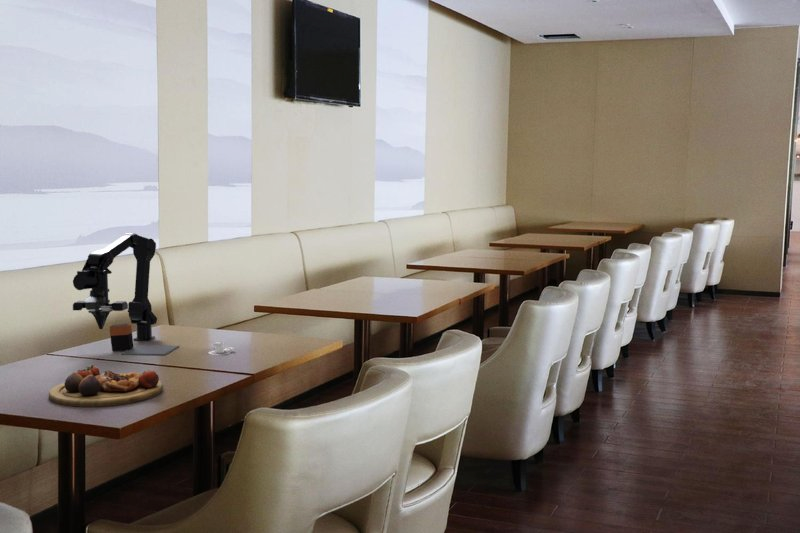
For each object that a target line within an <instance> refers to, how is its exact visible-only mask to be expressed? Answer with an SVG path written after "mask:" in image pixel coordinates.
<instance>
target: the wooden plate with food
mask: <svg viewBox="0 0 800 533" xmlns="http://www.w3.org/2000/svg"><path fill="white" fill-rule="evenodd" d="M163 386H164V385H163V383H162V382H161V381H160V378H159V375H158V374H157V372H156V371H155V370H149V369H148V370H147V371H143V372H142V373H139V372H136V371H133V372H127V373H118V372H113V371H112V370H110V369H109V370H105V371H104V372H103V373H101V372H100V369H99V368H98V367H97V366H95V365H93V364H92V365H91V366H86V369H85V368H84V369H78V370H77V372H75V371H74V372H72V373H71V374H69V375H68V376H67V377H66V379H65V381H64V382H62V383H60V384H57V385H56V386H53V388H51V389H50V390H49V392H48V398H49V399H50V401H51V402H54V403H56V404H58V405H63V406H67V407H68V406H69V407H80V408H82V407H83V408H86V407H87V408H97V407H98V408H99V407H101V408H102V407H111V406H113V407H114V406H119V405H120V406H121V405H127V404H133V403H138V402H142V401H146V400H148V399H151V398H154V397H156V396H157V395H159V394H160V393H161V392H162V391H163V388H164V387H163Z"/></svg>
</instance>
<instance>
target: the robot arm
mask: <svg viewBox="0 0 800 533" xmlns="http://www.w3.org/2000/svg"><path fill="white" fill-rule="evenodd" d="M156 247H157V244H156V241H155V240H154V239H153V238H149V237H145V236H141V235H139V234H137V233H136V232H135V233H134V232H133V233H132V232H127V233H123V235H122V236H121V237H120V238H117V239H116V240H115V241H114V242H112V243H111V244H109V245H107V246H106V247H105V248H101V249H98V250H95V251H93V252H90V253H89V254H88V256H87V259H86V261H85V263H84V266H83V267H82V270H77V271H76V275H75V276H73V280H72V283H73V287H74V288H75V289H76V290H77V291H84V290H89V296H88V297H87V298H85V300H78V301H75V302H73V304H72V311H82V310H83V309H86V310H87V311H88V314H91V315H92V316H93V317H94V319H95V321H96V324H97V326H98V329H99V330H103V329H104V327H105V324H106V321H107V320H108V319H107V318H108V316H109V315H110V313H111V312H123V311H126V310H127V313H128V318H129V320H130V324H131V325H132V324H135V325H136V327H135V328H136V337H135V338H134V337H133V341H151V340H153V339H155V338H156V336H155V335H154V336H153V331H152V330H153V327H152V325H155V324H157V321H158V317H157V316H156V315H155V314H154V312H152V311H153V310H152V303H151V302H150V300H149V297H148V296H149V287H150V286H149V285H150V272H151V271H150V269H151V267H150V266H151V261H152V259H154V256H155V255H156ZM129 248H132V251H133V252H132V253H133V256H134V258H135V261H136V269H135V284H134V285H135V287H134V298H133V299H132V301H128V303H127V301H126V300H125V301H119V300H117V301H114V302H112V303H111V302H110V299H109V292H110V288H109V279H108V276H109V274H112V273H113V272H112V270H110V269H109V267H110V266H111V265H112V264H113V263H114V259H115V258H116V257H118V256H119V255H121V254H122V253H123V252H124V251H126V250H128V249H129ZM90 289H91V290H90Z"/></svg>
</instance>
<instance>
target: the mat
mask: <svg viewBox="0 0 800 533" xmlns="http://www.w3.org/2000/svg"><path fill="white" fill-rule="evenodd" d="M133 346H134V345H133ZM178 348H180V345H172V344H171V345H164V344H163V345H162V344H161V345H159V344H137V345H135V346H134V347H133V348H132V349H130V350H124V351H123V352H121V353H120V354H121V355H122V356H161V357H162V356H164V357H165V356H166V355H168V354H170V353H171V352H173V351H175V350H177V349H178Z"/></svg>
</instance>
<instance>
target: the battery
mask: <svg viewBox="0 0 800 533" xmlns="http://www.w3.org/2000/svg"><path fill="white" fill-rule="evenodd" d="M109 335H110V344H111V350H112V352H117V351H118V352H119V351H127V350H130V349H132V348H133V347H134V337H133V331H132V323H128V321H123V322H122V321H121V322H120V323H118V322H114V323H113V324H112V325H110V326H109Z"/></svg>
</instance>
